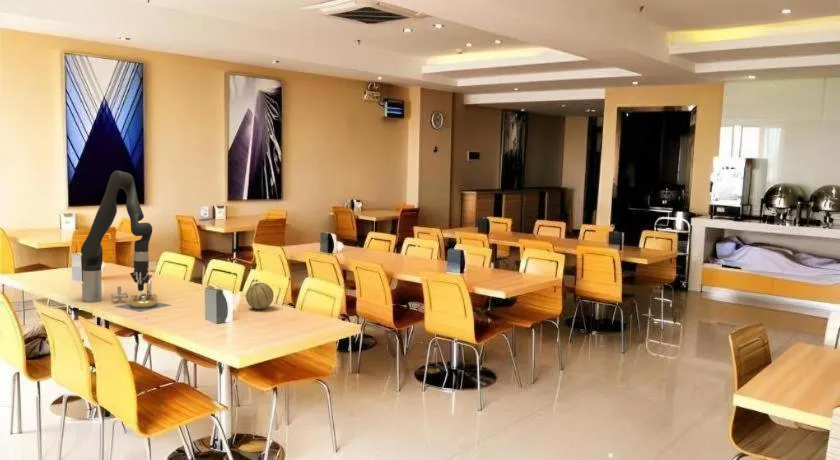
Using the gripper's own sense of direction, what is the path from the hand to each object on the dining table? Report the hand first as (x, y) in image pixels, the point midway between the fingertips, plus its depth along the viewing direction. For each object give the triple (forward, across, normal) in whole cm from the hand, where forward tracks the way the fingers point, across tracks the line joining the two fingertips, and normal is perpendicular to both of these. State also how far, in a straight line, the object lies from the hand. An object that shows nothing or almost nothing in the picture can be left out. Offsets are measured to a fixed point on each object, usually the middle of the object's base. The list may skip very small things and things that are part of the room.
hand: (140, 290), depth 355 cm
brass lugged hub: (+6, +7, -5) cm, 11 cm away
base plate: (+8, +7, -5) cm, 12 cm away
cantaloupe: (+7, +60, +24) cm, 65 cm away
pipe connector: (+9, -10, -4) cm, 14 cm away
